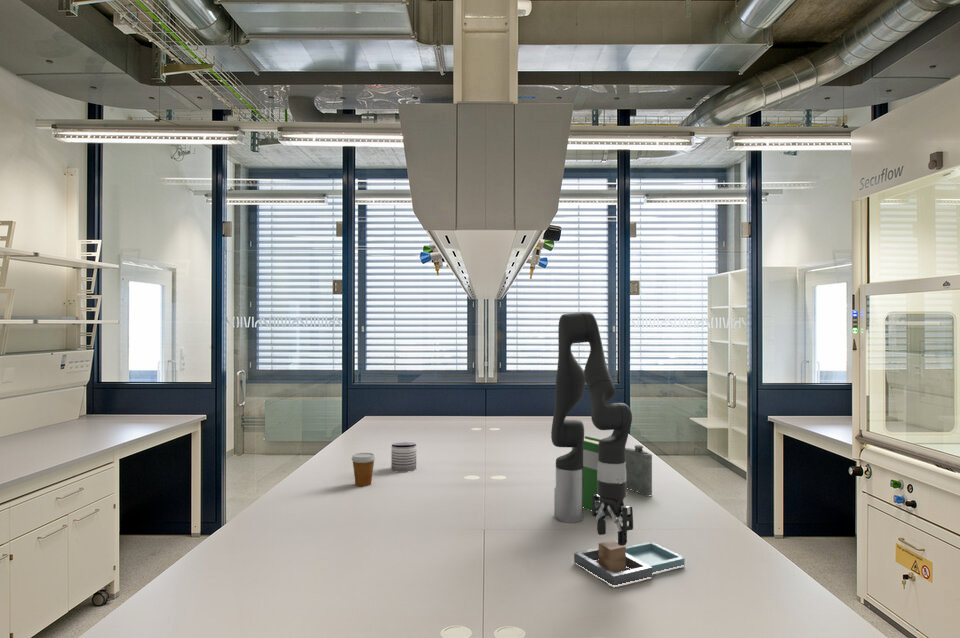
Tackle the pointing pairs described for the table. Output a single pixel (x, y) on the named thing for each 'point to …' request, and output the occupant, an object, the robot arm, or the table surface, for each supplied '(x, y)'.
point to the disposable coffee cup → (363, 468)
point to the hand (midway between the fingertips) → (611, 539)
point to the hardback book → (590, 470)
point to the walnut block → (612, 556)
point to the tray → (655, 556)
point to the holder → (635, 573)
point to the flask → (638, 470)
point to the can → (403, 457)
